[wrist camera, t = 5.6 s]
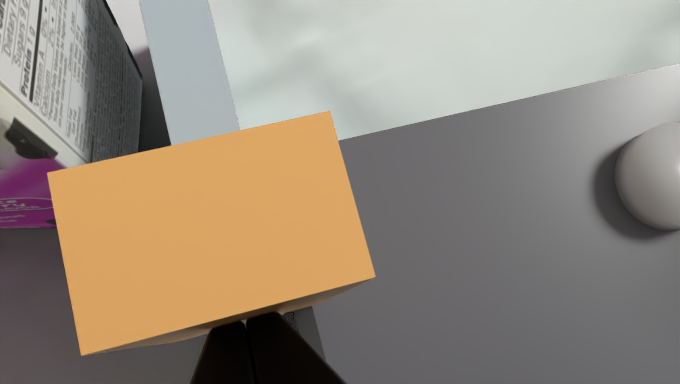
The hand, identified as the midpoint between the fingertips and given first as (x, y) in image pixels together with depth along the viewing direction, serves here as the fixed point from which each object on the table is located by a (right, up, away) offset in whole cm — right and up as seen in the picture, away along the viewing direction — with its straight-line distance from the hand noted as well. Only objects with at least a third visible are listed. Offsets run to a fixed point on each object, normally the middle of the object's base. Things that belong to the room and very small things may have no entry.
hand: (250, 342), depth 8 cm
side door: (-2, +2, +11) cm, 11 cm away
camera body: (+5, -3, +10) cm, 12 cm away
